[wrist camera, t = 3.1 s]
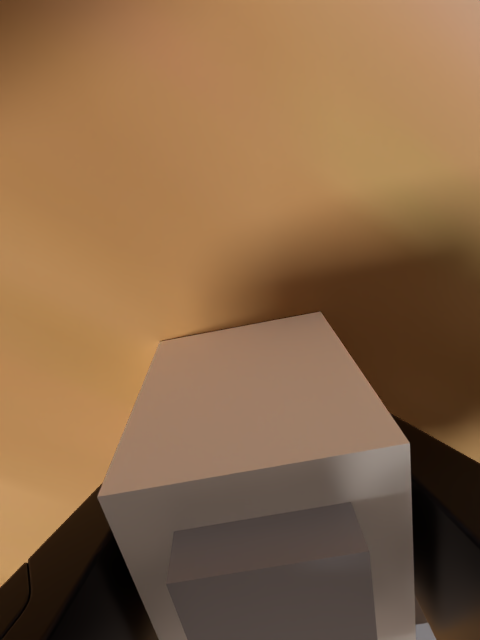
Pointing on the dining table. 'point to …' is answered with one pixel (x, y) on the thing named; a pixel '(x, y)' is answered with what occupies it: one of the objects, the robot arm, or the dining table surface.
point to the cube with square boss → (264, 491)
